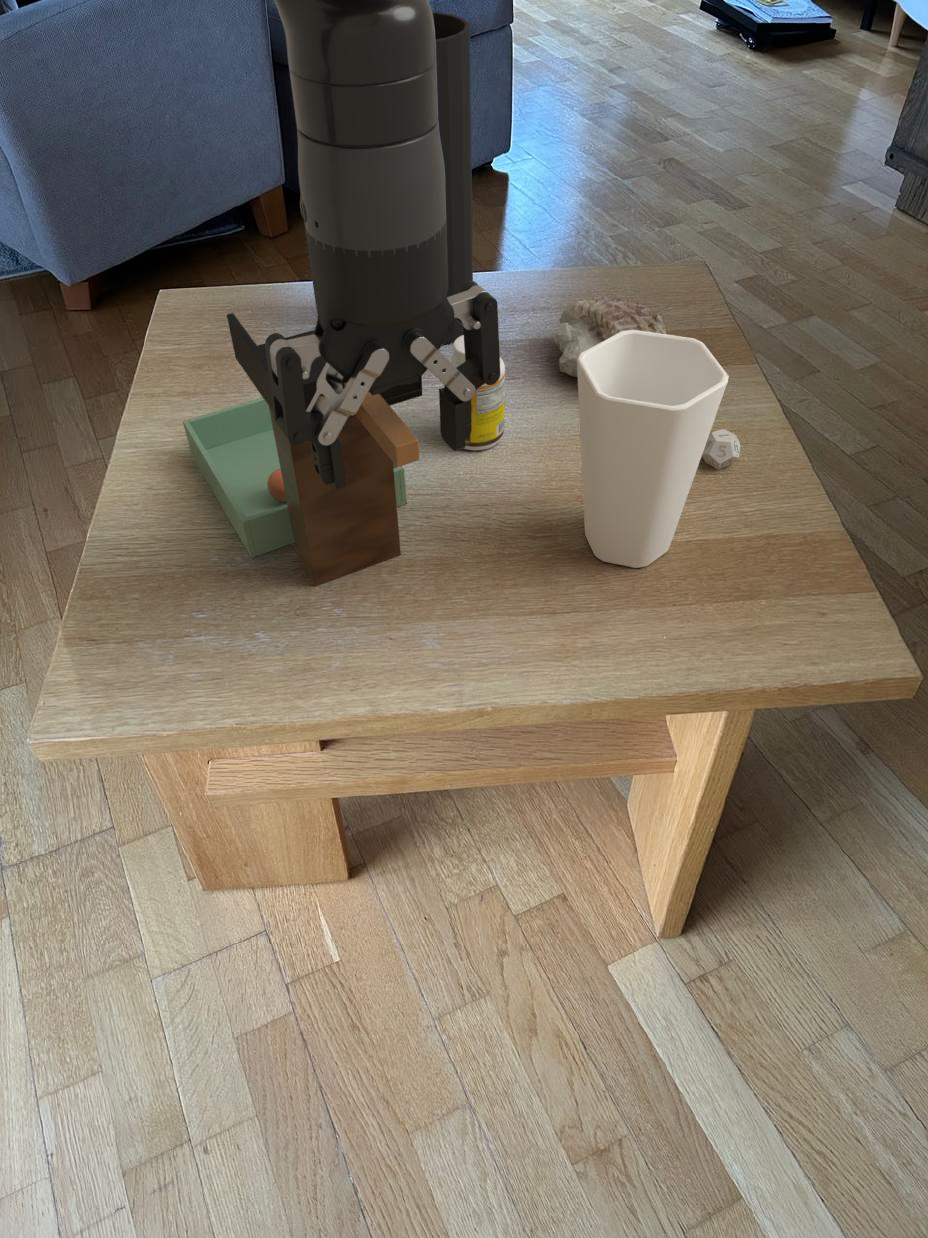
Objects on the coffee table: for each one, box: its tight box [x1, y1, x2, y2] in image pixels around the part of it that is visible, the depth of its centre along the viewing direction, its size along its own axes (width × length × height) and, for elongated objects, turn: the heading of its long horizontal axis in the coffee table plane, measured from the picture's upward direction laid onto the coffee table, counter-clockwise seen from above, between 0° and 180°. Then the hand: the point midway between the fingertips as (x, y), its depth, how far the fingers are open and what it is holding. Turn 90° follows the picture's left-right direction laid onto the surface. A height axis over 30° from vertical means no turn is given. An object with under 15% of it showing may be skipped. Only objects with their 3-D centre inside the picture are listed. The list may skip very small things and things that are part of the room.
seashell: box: [553, 295, 667, 378], centre depth 100 cm, size 14×9×10 cm
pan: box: [226, 312, 423, 467], centre depth 65 cm, size 10×19×4 cm, turn 28°
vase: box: [432, 11, 474, 346], centre depth 99 cm, size 10×10×30 cm
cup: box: [577, 330, 730, 569], centre depth 77 cm, size 11×10×17 cm
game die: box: [701, 428, 741, 470], centre depth 90 cm, size 4×4×3 cm
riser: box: [269, 407, 402, 587], centre depth 76 cm, size 8×4×18 cm, turn 118°
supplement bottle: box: [448, 335, 506, 451], centre depth 90 cm, size 6×6×10 cm
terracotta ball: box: [267, 469, 287, 502], centre depth 86 cm, size 3×3×3 cm
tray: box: [182, 397, 408, 558], centre depth 88 cm, size 15×17×4 cm
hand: (395, 462), depth 62 cm, fingers open, 8 cm apart
